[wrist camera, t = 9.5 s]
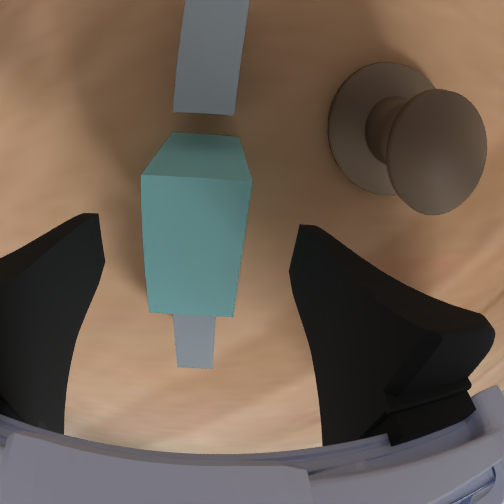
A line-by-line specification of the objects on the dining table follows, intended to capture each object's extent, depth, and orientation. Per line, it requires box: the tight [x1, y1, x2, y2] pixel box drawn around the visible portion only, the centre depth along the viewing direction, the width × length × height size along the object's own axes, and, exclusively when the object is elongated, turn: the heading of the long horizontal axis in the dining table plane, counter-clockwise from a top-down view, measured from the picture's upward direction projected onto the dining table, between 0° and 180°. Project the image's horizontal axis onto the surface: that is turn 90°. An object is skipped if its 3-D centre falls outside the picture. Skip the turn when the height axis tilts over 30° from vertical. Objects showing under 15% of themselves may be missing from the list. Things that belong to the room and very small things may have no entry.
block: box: [141, 132, 252, 317], centre depth 12 cm, size 5×3×6 cm, turn 172°
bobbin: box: [328, 63, 487, 215], centre depth 11 cm, size 7×7×4 cm
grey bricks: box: [173, 0, 250, 369], centre depth 13 cm, size 18×2×4 cm, turn 173°
